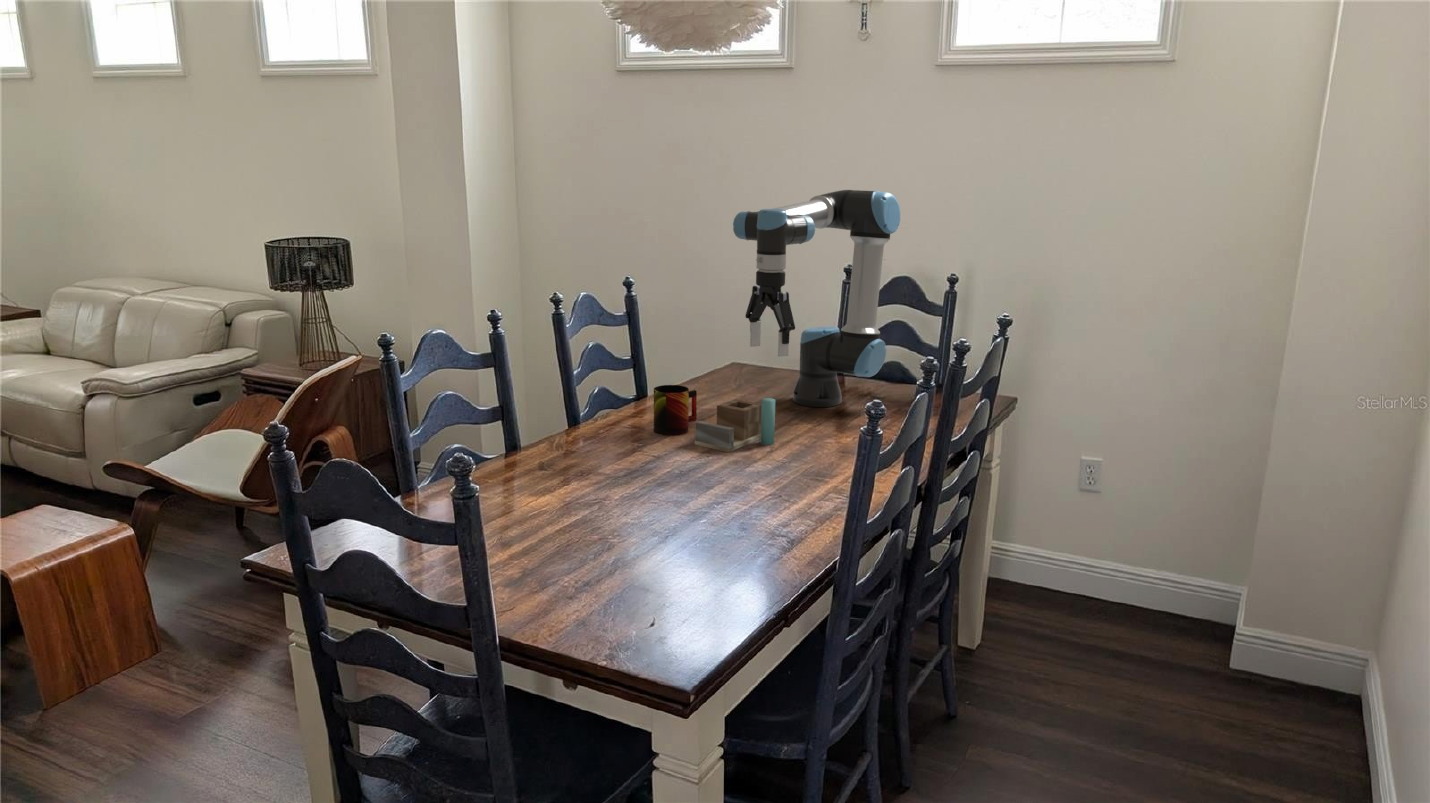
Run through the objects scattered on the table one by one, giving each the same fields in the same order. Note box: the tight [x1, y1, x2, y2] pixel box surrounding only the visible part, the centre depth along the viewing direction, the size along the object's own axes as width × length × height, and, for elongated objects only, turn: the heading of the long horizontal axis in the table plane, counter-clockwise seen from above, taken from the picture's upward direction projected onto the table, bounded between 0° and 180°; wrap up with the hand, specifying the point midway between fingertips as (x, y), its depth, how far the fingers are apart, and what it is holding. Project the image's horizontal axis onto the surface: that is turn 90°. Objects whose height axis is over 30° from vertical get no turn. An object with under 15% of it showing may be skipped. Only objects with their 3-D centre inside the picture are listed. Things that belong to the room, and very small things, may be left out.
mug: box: [653, 384, 698, 437], centre depth 278 cm, size 10×14×12 cm
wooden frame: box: [694, 420, 761, 453], centre depth 269 cm, size 18×11×6 cm, turn 144°
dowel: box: [760, 397, 776, 446], centre depth 266 cm, size 4×4×12 cm
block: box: [716, 398, 762, 440], centre depth 271 cm, size 9×9×8 cm
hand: (768, 351), depth 263 cm, fingers open, 13 cm apart
